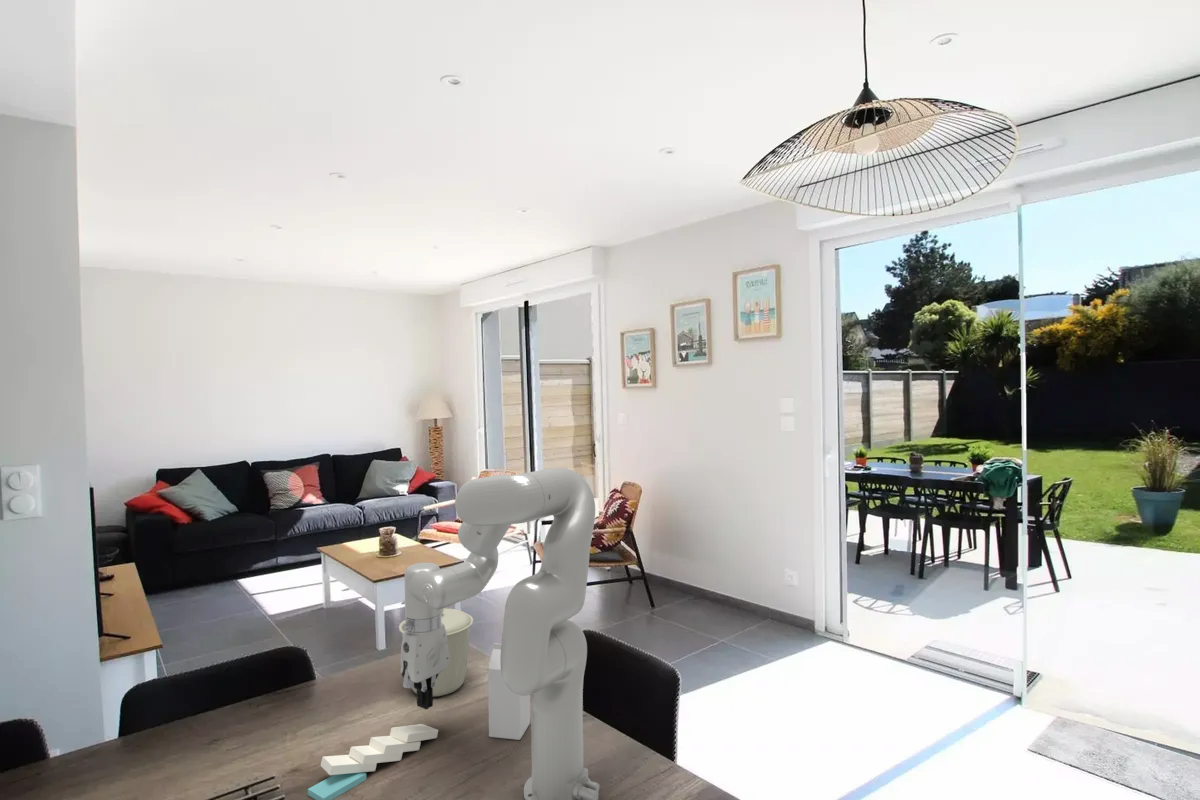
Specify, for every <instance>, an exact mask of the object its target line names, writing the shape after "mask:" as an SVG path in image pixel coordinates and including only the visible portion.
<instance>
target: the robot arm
mask: <svg viewBox="0 0 1200 800" xmlns="http://www.w3.org/2000/svg"><path fill="white" fill-rule="evenodd" d="M454 503H455V504H454V505H455V511H456V515H457V517H458V518H459V519H460V521H462V522H461V524H460V526H459V528H458V530H457V531H458V532H457V536H458V540H459V543H460V544H461V545H462V547H463V548H465V549H466V551H468V552H470V553H469V555H468V556H467V558H466V559H465V560H464V562H462V563H458V564H454V565H452V566H449V567H446V568H443V569H441V568H440V565H438V564H436V563H434V562H417V563H413V564H411V565H409V566H408V567H407V568H406V569H405V571H404V611H405V612H404V613H405V615H404V620H405V624H403V626H402V628H403V630H406V631H405V632H404V634H403V637H402V640H401V648H400V665H399V666H400V675H401V678H402V679H403V683H402V687H403V688H405V689H412V688H413V687H414V689H417V693H416V704H417V707H419V708H422V709H424V710H428V709H429V708H431V707H432V708H433V706H434V700H433V699H434V697H433V687H434V686H435V681H436V678H437V677H438V675H439V674H440V673H441V672H443V671H444V670H445V669H446V668H447V667H448V665H449V650H448V640H447V634H446V629H445V626H444V624H443V623H441V609H443V608H448V607H451V606H454V605H455V604H456V605H457V604H458V603H461V602H464V601H466V600H468V599H470V598H471V599H472V598H473V597H476V596H478V595H479V594H480V593H481V592H482V591H483V590H484V589H485V587H486V586H487V585H488V583H490V580H491V579H492V577H493V576H494V574H495V573H496V571H497V568H498V565H499V551H498V546H499V545H500V543H502V540H503V539H504V537H505V535H506V534H507V532H508V530H510V528H511V526H512V525H518V524H526V523H529V522H533V521H537V520H541V519H543V518H547V517H551V516H553V521H552V522H551V525H550V527H549V528H548V530H547V533H546V536H545V539H544V543H543V548H542V549H543V550H542V551H543V552H542V559H541V566H540V569H539V570H538V571H537V572H536V573H535V574H532V575H530V576H528V577H525V578H523V579H521V580H520V581H518V582H517V583H516V584H515V585H514V586H513V587H512V588H511V590H510V591H509V593H508V596H507V598H506V602H505V605H504V607H505V608H504V613H503V624H502V635H501V643H500V644H501V655H500V665H501V672H502V676H503V679H504V681H505V683H506V685H507V687H508V688H509V689H510V690H511V691H512V692H514V693H515V694H518V695H521V696H528V695H530V724H531V725H530V726H531V727H530V729H531V730H530V731H531V735H530V736H531V741H530V743H531V776H529V778H528V779H527V780H526V781H525V783H524V786H523V797H524V800H599V796H600V795H599V792H600V791H599V790H600V788H601V785H600V783H598V782H595V781H592V780H591V779H590V778H589V768H587V767H584V727H583V726H584V725H583V724H584V721H583V718H584V717H583V716H584V715H583V713H584V711H583V710H584V705H583V704H584V703H583V702H584V700H583V699H584V698H583V695H584V694H583V693H584V690H583V689H584V676H585V671H586V665H587V658H588V643H587V638H586V636H585V634H584V631H583V630H582V629H581V627H580V626H579V625H578V624H577V623H576V622H574V621H572V620H569V619H571V618H572V617H575V616H576V615H577V614H579V613H580V612H581V611H582V609H583V608H584V605H585V602H586V601H585V600H586V594H587V584H588V577H589V576H588V575H589V566H590V555H591V554H590V552H591V544H592V538H593V532H594V526H595V521H596V520H595V519H596V504H595V503H596V501H595V497H594V494H593V491H592V489H591V487H590V485H589V484H588V482H587V481H586V479H584V477H583V476H582V475H581V474H579V473H578V472H576V471H575V470H572V469H570V468H567V467H550V468H545V469H539V470H534V471H531V472H530V471H529V472H523V473H518V474H511V475H510V474H495V475H491V476H490V475H489V476H484V477H478V478H474V479H471V480H468V481H467V482H465V483H464V484H463V485H462V486H461V487H460V488H459V490H458V491H457V494H456V497H455V502H454Z"/></svg>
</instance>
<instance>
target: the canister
mask: <svg viewBox="0 0 1200 800" xmlns="http://www.w3.org/2000/svg"><path fill="white" fill-rule="evenodd" d="M441 623H443V624H444V626H445V629H446V634H447V640H448V650H449V665H448V667H447V668H446V669H445V670H444V671H443V672H441V673H440V674H439V675H438V677H437V678H436V681H435V686H434V687H433V698H435V697H441V696H446V695H450V694H452V693H454V692H455V691H457V690H458V689H460V687H461V686H463V683H464V681H465V679H466V674H467V666H468V657H469V646H470V635H471V626H472V625H473V624H474V618H473V616H472V615H470V614H469V613H466V612H464V611H463V610H459V609H455V608H448V607H446V608H443V609H441ZM403 624H405V619H404V620H402V621H401V622H400V623H399V625H398V630H399V633H401V636H402V638H403V634H404V632H405V631H406V630H403V628H402V626H403ZM411 690H412V691H413V692H414V693H415V694H417V689H414V687H413V688H411Z"/></svg>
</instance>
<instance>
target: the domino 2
mask: <svg viewBox="0 0 1200 800" xmlns="http://www.w3.org/2000/svg"><path fill="white" fill-rule="evenodd" d="M364 781H367V772H359V773H348V774H337V775H330V776H328V777H327V778H325V779H324V780H321V781H320V782H318V783H316V784H314V785H313V786H310V787H309V788H307V796H309V797H310V798H312V799H313V800H334V799H336V798H337V797H339V796H341V795H342V794H343V795H344V793H346V792H348V791H350V790H351V789H354V788H355V787H356V786H358V785H360V784H361V783H362V782H364Z"/></svg>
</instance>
